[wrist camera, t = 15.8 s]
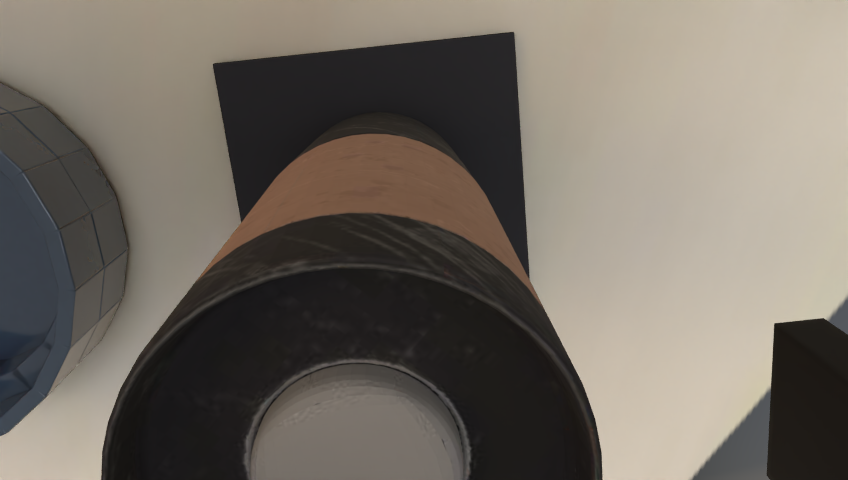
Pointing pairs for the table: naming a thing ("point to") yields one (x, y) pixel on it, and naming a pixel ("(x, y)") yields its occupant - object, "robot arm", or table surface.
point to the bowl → (51, 254)
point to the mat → (382, 92)
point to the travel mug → (359, 336)
